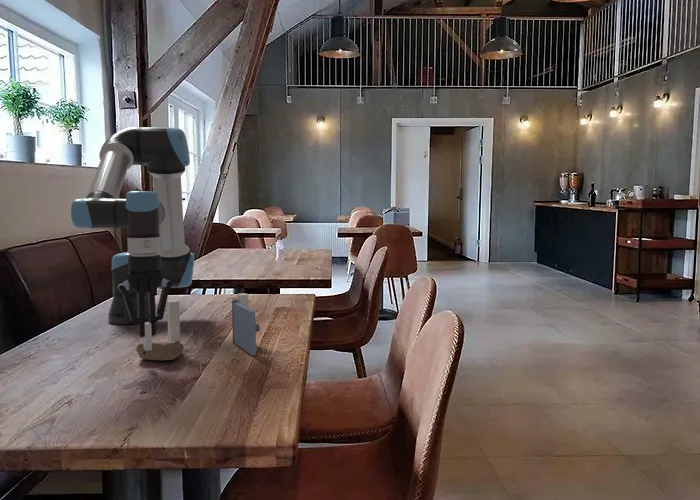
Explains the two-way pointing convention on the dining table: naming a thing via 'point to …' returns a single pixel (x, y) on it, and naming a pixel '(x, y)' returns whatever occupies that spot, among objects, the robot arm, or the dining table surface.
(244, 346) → the door
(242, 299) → the pair of grey bars
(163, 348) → the stone
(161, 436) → the dining table surface
